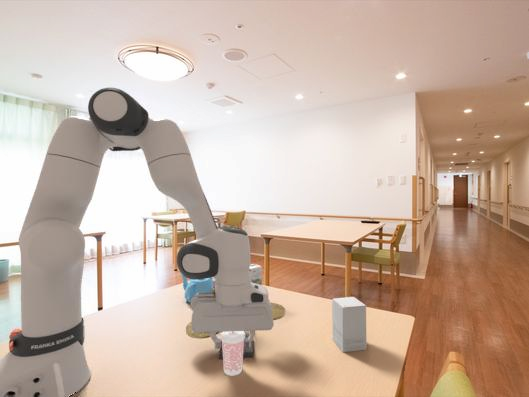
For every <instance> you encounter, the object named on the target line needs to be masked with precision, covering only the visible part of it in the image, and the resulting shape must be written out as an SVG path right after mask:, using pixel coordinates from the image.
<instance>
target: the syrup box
mask: <svg viewBox="0 0 529 397" xmlns="http://www.w3.org/2000/svg"><path fill="white" fill-rule="evenodd" d="M262 271H263V267H262V266H261V265H259V264H257V263H250V267H249V274H250V278H251V282H252V283H256V284H259V285H263V281H262V279H263V276H262V275H263V272H262Z"/></svg>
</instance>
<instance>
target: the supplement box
mask: <svg viewBox="0 0 529 397" xmlns="http://www.w3.org/2000/svg"><path fill="white" fill-rule="evenodd" d="M331 316H332V340H333V342H334V343H335V344H336V346H338V348H339V349H340V350H341V351H342V352H343V353H345V352H346V353H348V352H355V351H356V352H358V351H366V350H367V305H366V304H364V303H363V302H362V301H360V300H359V299H357V298H356V296H346V297H337V298H334V297H333V298H332V315H331Z"/></svg>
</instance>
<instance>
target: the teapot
mask: <svg viewBox="0 0 529 397" xmlns="http://www.w3.org/2000/svg"><path fill="white" fill-rule="evenodd" d="M180 276H181V277H182V279H183V280H182V287H183V289H184V298H185V299H186V301H187V302H188V303H190V304H191V298H192V297H193V296H194V295H196V294H197V293H208V292H211V291H212V279H213V278H214V277H211V278H205V279H197V280H192V279H189V282H188V278H186V277H185V276H183V275H182V273H180ZM195 297H197V296H195Z"/></svg>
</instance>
